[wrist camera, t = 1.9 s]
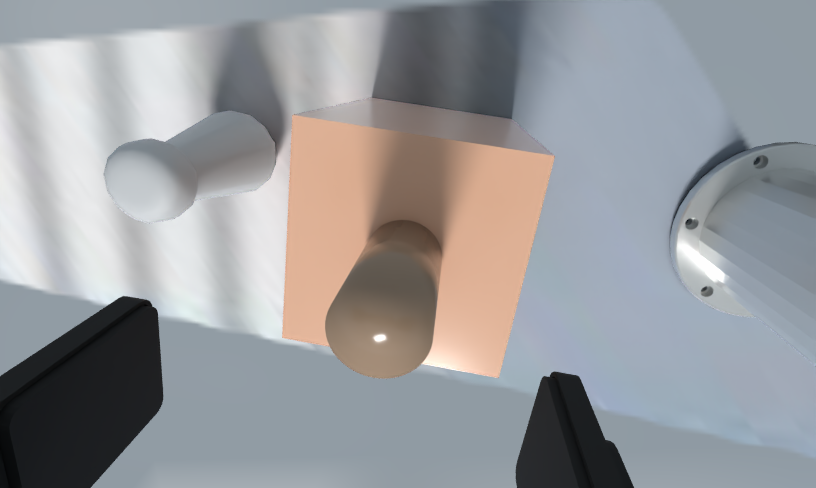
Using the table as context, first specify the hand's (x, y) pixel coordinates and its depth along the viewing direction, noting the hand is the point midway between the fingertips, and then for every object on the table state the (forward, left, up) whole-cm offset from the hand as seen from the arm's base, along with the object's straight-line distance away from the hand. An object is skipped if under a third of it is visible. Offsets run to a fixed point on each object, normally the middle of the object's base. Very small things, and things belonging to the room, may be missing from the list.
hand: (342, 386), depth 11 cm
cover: (0, 0, -25) cm, 25 cm away
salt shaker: (+13, 0, -25) cm, 28 cm away
